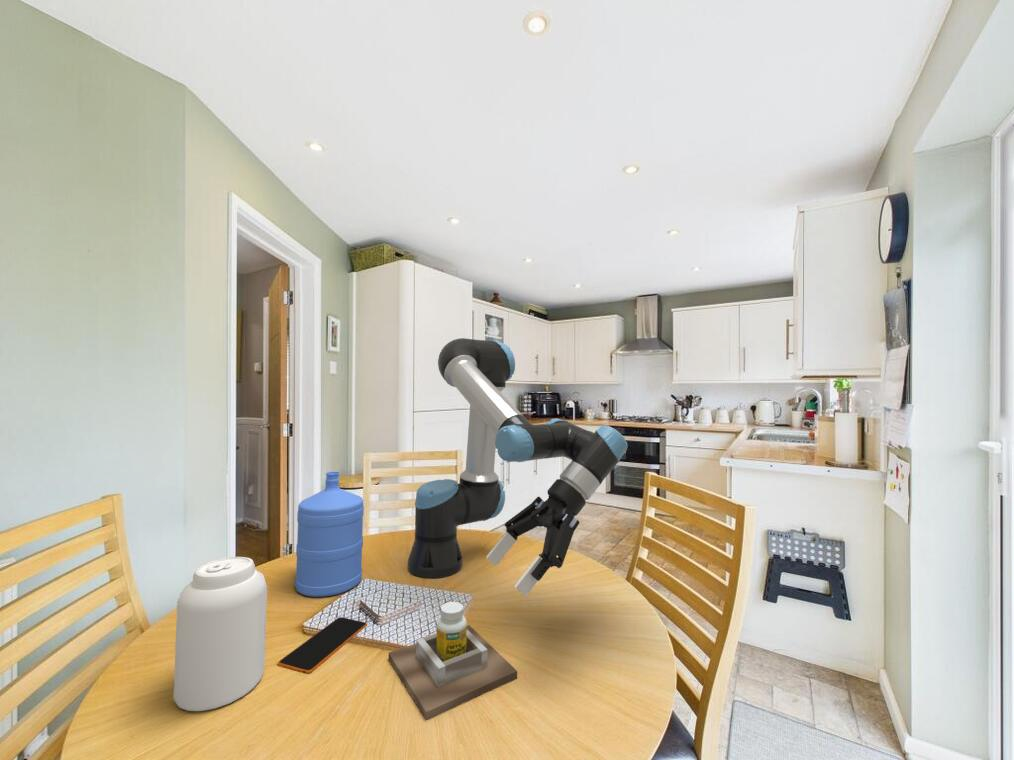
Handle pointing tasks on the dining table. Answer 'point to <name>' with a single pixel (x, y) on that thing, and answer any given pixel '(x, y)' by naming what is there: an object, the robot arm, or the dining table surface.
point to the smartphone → (322, 645)
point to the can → (220, 634)
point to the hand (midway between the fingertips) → (503, 575)
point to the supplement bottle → (451, 631)
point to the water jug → (329, 541)
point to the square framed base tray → (449, 673)
